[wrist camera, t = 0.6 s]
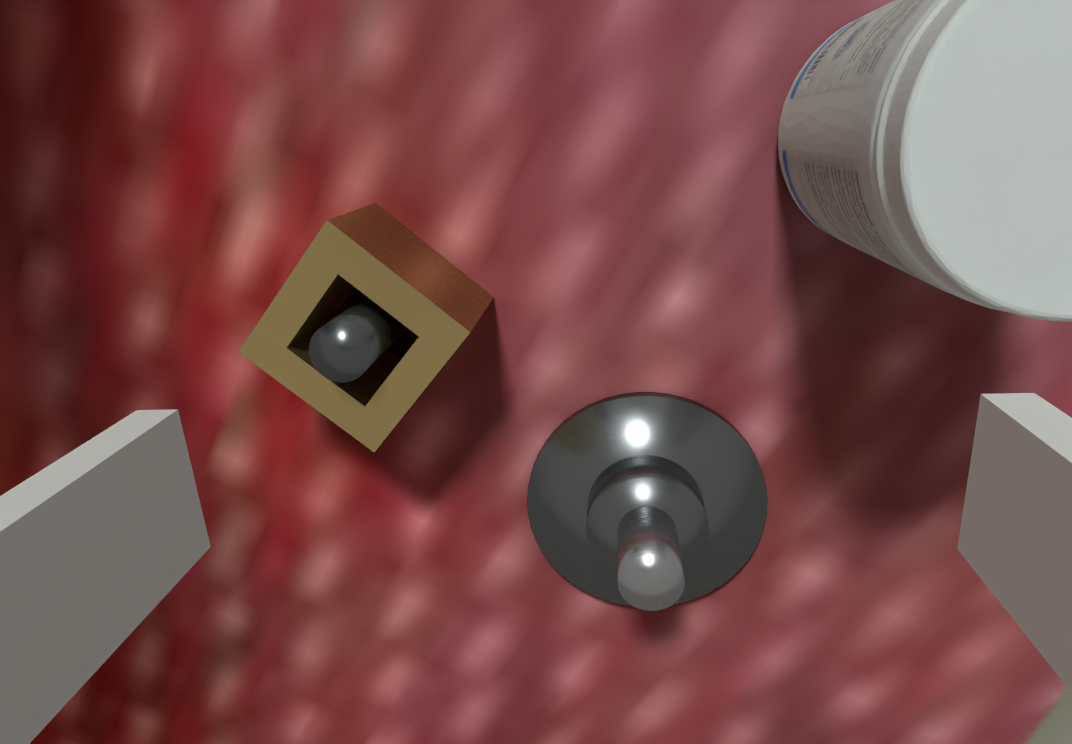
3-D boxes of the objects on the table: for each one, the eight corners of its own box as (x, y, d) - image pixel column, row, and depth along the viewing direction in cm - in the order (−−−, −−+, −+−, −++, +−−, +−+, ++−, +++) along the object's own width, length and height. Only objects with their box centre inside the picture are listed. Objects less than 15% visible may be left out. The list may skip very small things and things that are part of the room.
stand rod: (360, 309, 36) (297, 356, 29) (387, 272, 35) (329, 311, 28) (399, 340, 36) (347, 394, 29) (427, 303, 35) (380, 349, 28)
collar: (297, 315, 36) (238, 352, 30) (375, 203, 34) (327, 219, 28) (410, 401, 37) (374, 452, 31) (493, 297, 35) (470, 332, 29)
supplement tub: (991, 240, 32) (1283, 334, 18) (766, 248, 33) (876, 342, 19) (1028, -9, 29) (1417, -128, 15) (778, 9, 30) (921, -87, 16)
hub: (482, 509, 39) (455, 590, 32) (632, 343, 35) (636, 396, 28) (655, 638, 40) (662, 740, 34) (816, 492, 36) (861, 575, 30)
